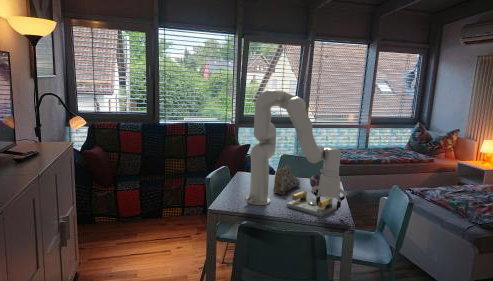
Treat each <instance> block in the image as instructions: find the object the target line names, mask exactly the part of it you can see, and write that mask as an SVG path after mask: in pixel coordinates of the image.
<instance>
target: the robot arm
mask: <svg viewBox="0 0 493 281" xmlns="http://www.w3.org/2000/svg"><path fill="white" fill-rule="evenodd" d="M273 107H279V108H281V109H284V110H286V112H287V114H288V117H289V119H290V121H291V123H292V125H293V128H294V129H295V132H296V136H297V140H298V143H299V146H300V148H301V151H302V153H303V154H304V157H305V158H306V160H307V161H308V162H309V163H311V164H317V163H318V164H319V163H320V162H321V161H323V166H322V169H319V172H320V173H321V174H320V175H321V177H320V181H319V185H318V186H315V187H313V188H312V187H311V190H312V193H313V195H314V196H315V199H316V203H317V206H318V204H319V202H320V201H321V196H322V197H325V198H326V197H330V198H333V199H336V200H337V202H336V205H337V209H336V210H339V209H340V208H341V205H342V202H343V200H345V199H346V197H347V196H348V192H346V191H345V190H343V189H342V188H341V177H340V164H341V149H340V148H337V147H326V146H322V145H318V144H317V142H316V139H315V137H314V133H313V123H312V121H311V119H310V117H309V115H308V112H307V110H306V107H307V104H306V102H305V100H304V99H303V98H301V97H300V96H296V95H293V94H291V93H289V92H286V91H283V90H280V89H269V90H265V91H262V92H261V93H260V94H259V95H258V96H257V98H256V101H255V105H254V120H253V137H254V138H255V139H256V140H257V141H259V142H258V143H257V144H255V145H253V147H252V148H251V150H250V185H249V186H250V188H249V194H248V196H247V197H245V198H244V201H245V202H247V203H248V204H251V205H255V206H265V205H267V206H268V205H270V203H271V199H270V198H269V197H268V196H269V180H270V162H269V160H270V159H271V158H273V156H274V155H275V153H276V147H277V144H276V142H277V129H276V125H274V123H273V122H271V120H272V108H273ZM315 189H318V190H315ZM341 194H342V195H343V196H341Z"/></svg>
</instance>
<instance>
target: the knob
mask: <svg viewBox="0 0 493 281" xmlns="http://www.w3.org/2000/svg"><path fill="white" fill-rule="evenodd" d="M333 199H334V198H332V197H326V196H325V199H322V200H320V202H319V204H318V207H320V208H323V207H324V206H332V204H333Z"/></svg>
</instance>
